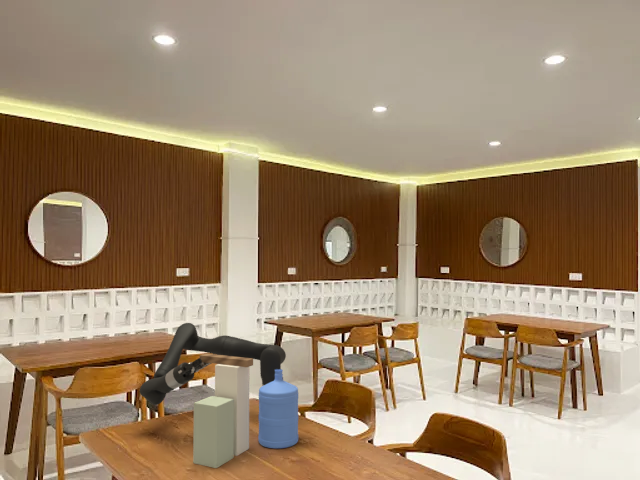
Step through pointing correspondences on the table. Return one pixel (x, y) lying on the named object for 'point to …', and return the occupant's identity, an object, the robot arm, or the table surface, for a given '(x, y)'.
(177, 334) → the robot arm
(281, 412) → the water jug
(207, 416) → the sage step
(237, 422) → the off-white stand
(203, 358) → the walnut plank
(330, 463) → the table surface
